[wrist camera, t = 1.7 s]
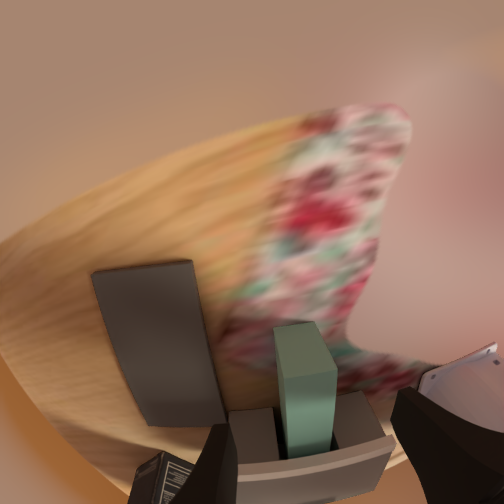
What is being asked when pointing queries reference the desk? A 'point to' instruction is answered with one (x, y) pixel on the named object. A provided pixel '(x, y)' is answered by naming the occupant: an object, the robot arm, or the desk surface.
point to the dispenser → (310, 457)
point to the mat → (162, 342)
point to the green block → (305, 389)
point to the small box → (159, 480)
